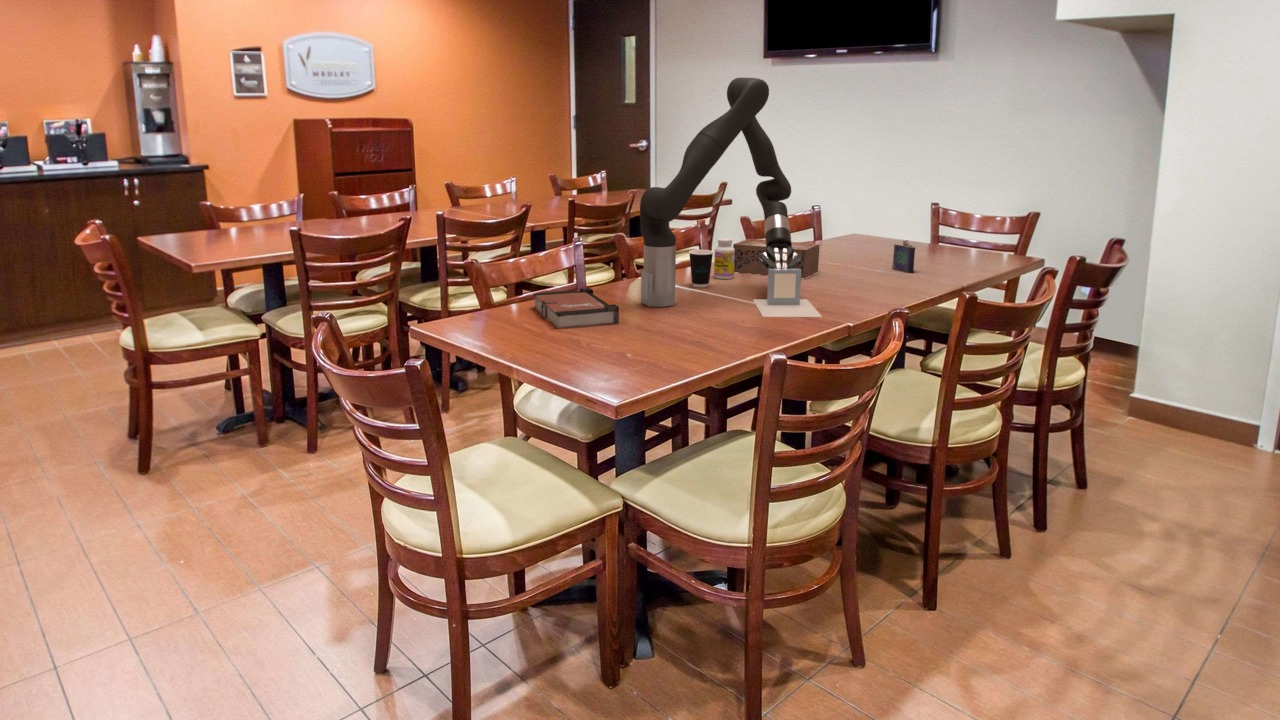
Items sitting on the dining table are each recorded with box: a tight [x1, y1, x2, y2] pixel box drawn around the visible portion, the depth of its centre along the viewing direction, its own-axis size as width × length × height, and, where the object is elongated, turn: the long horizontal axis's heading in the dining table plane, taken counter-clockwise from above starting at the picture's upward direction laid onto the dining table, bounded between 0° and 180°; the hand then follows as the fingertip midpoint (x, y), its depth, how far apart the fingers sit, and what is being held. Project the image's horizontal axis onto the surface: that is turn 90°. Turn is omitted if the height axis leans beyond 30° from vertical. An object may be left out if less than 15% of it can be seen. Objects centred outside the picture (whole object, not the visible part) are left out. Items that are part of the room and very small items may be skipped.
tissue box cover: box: [732, 238, 821, 280], centre depth 306 cm, size 26×14×10 cm, turn 61°
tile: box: [766, 269, 802, 305], centre depth 255 cm, size 2×9×10 cm, turn 90°
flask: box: [891, 240, 916, 274], centre depth 308 cm, size 9×3×11 cm, turn 28°
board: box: [752, 298, 823, 318], centre depth 252 cm, size 22×16×1 cm
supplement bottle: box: [713, 237, 735, 280], centre depth 296 cm, size 7×7×13 cm
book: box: [532, 287, 620, 330], centre depth 244 cm, size 26×18×5 cm
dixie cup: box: [688, 249, 715, 288], centre depth 283 cm, size 8×8×11 cm
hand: (782, 282), depth 258 cm, fingers closed
